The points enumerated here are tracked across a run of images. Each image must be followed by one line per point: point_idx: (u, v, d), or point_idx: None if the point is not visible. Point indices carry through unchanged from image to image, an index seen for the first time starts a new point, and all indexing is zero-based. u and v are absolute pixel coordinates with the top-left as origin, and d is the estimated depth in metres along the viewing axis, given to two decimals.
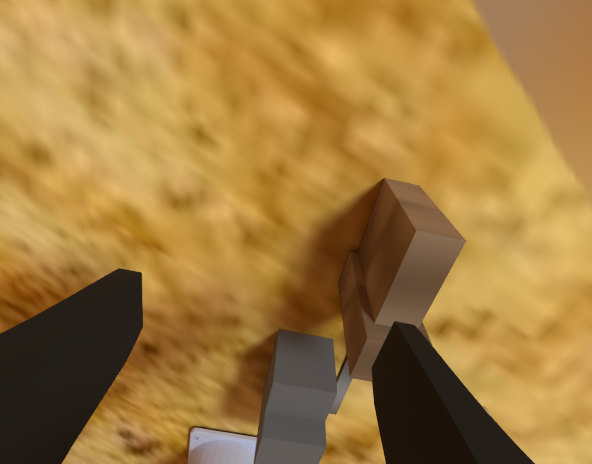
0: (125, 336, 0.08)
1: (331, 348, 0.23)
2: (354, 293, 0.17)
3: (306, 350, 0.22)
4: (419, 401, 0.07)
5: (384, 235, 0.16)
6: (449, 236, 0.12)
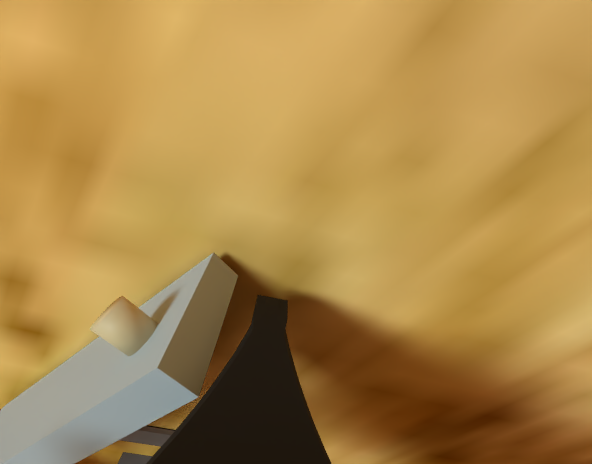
0: None
1: None
2: None
3: None
4: None
5: None
6: None
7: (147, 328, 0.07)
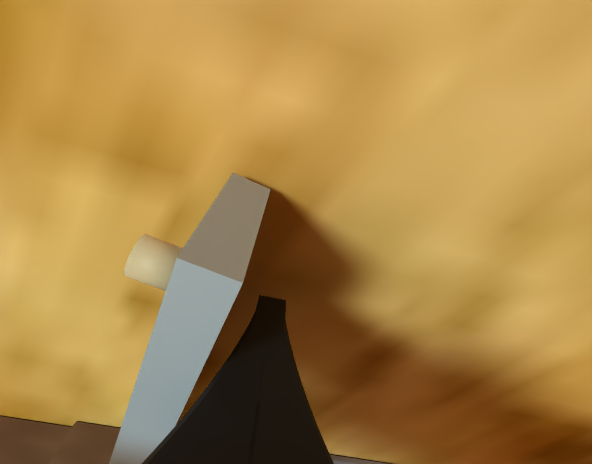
0: None
1: None
2: None
3: None
4: None
5: None
6: None
7: None
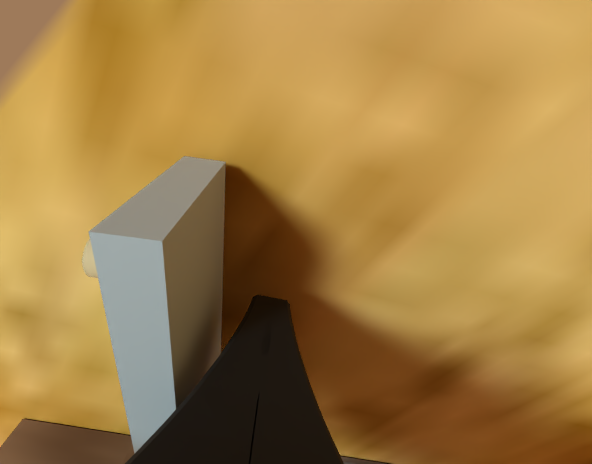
0: None
1: None
2: None
3: None
4: None
5: None
6: None
7: None
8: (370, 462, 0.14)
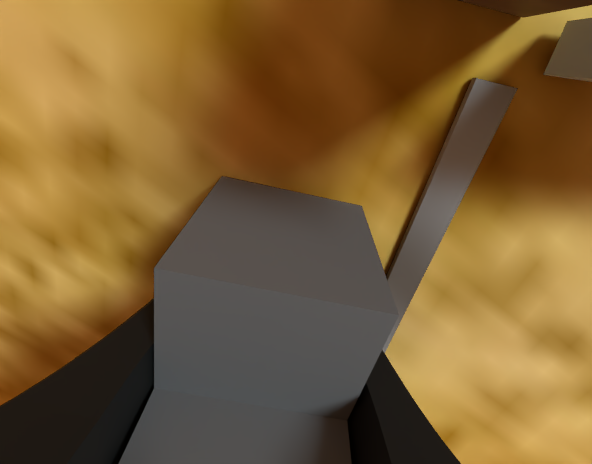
0: None
1: (361, 219, 0.08)
2: None
3: (291, 215, 0.08)
4: None
5: None
6: None
7: None
8: (410, 296, 0.11)
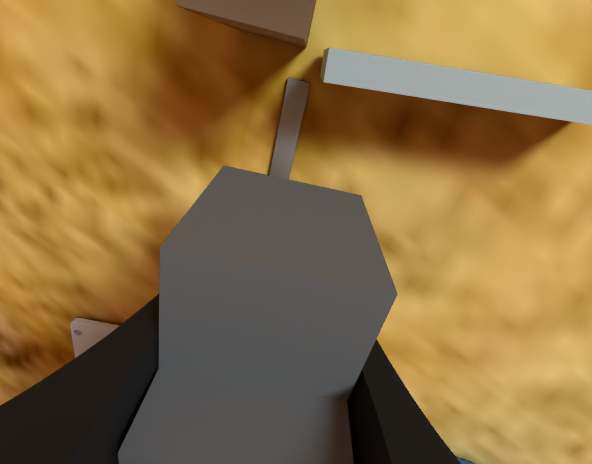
0: None
1: (361, 207, 0.08)
2: None
3: (292, 202, 0.08)
4: (352, 389, 0.07)
5: None
6: None
7: None
8: None
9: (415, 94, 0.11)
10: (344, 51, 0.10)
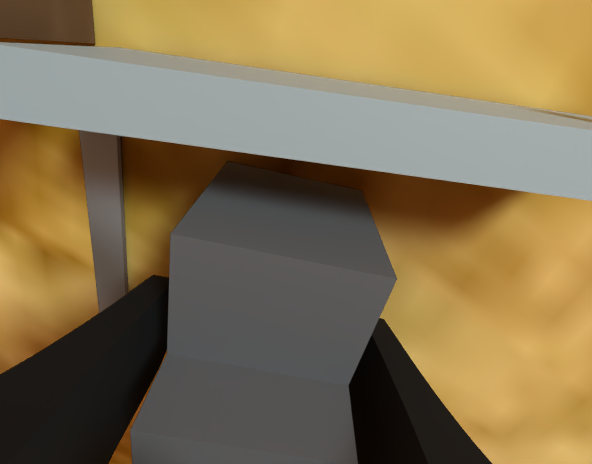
0: (160, 342, 0.08)
1: (361, 200, 0.09)
2: None
3: (295, 194, 0.08)
4: (380, 394, 0.07)
5: None
6: None
7: None
8: (127, 290, 0.12)
9: (203, 143, 0.05)
10: (10, 49, 0.04)
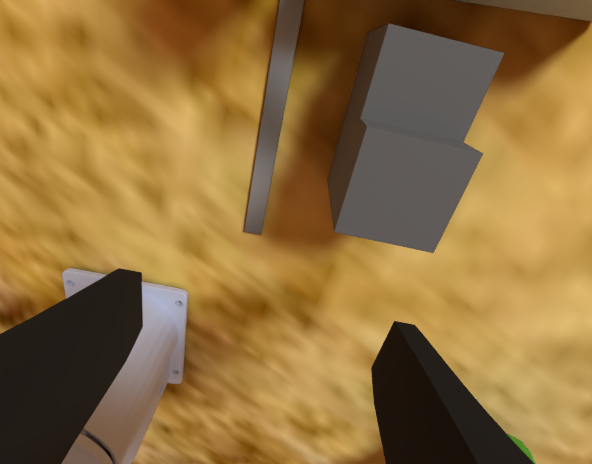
0: (125, 336, 0.08)
1: None
2: None
3: None
4: (419, 401, 0.07)
5: None
6: None
7: None
8: (278, 140, 0.16)
9: None
10: None
